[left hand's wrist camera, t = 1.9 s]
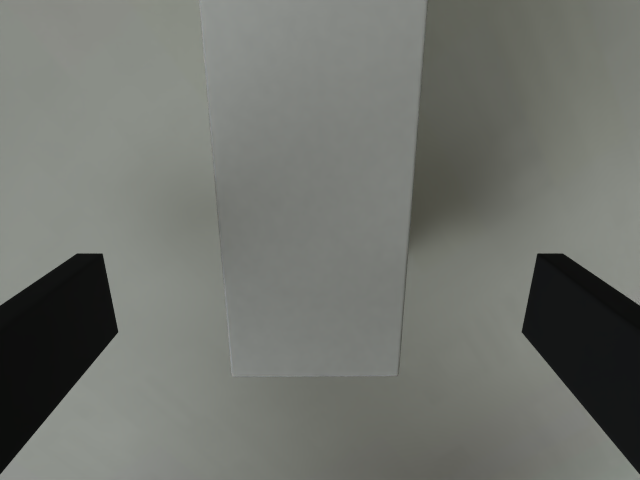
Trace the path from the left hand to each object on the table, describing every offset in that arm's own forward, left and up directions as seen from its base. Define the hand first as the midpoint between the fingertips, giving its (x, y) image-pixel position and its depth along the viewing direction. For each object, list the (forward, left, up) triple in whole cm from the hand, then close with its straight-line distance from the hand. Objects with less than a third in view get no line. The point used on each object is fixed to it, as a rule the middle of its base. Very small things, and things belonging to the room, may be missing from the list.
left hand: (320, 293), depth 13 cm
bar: (+10, 0, -9) cm, 13 cm away
